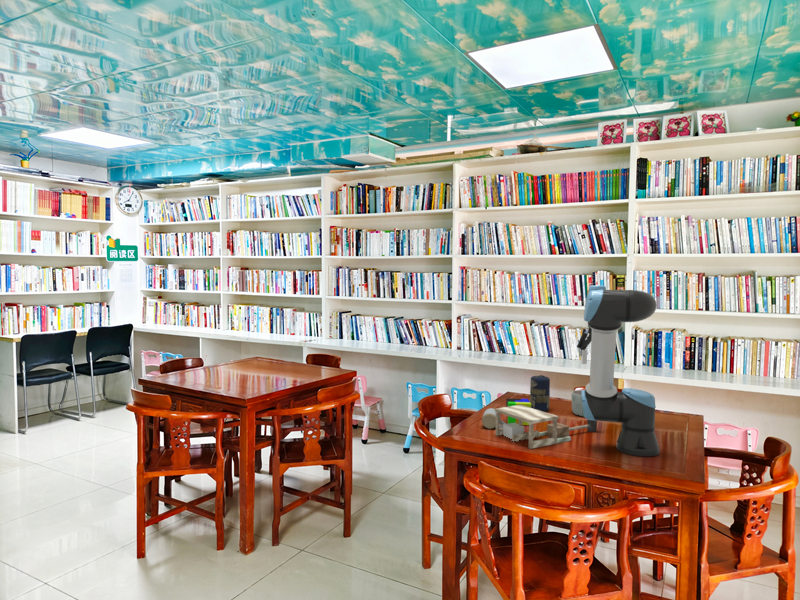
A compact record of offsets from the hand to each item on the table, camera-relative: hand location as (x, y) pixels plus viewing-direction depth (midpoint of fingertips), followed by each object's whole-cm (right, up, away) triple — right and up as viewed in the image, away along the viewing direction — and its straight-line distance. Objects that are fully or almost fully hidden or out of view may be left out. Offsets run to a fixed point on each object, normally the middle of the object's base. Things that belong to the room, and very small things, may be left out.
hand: (595, 365), depth 242 cm
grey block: (-42, -28, -19) cm, 53 cm away
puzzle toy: (-35, -27, +3) cm, 44 cm away
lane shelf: (-34, -27, -20) cm, 48 cm away
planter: (+1, -26, +18) cm, 32 cm away
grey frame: (-15, -27, -15) cm, 34 cm away
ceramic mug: (-47, -27, -4) cm, 55 cm away
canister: (-19, -26, +26) cm, 41 cm away
